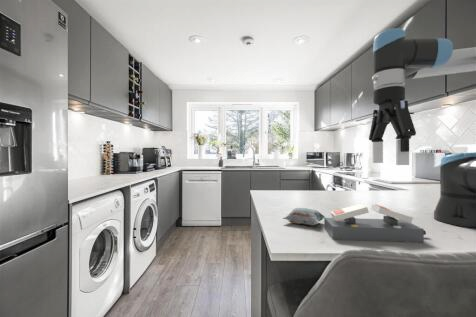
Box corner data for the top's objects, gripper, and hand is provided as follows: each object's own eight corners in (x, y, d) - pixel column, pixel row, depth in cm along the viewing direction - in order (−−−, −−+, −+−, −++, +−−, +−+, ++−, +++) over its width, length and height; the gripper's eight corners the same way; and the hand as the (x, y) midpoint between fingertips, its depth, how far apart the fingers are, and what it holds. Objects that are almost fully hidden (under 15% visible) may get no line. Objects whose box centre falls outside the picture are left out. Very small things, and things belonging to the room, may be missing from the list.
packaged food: (318, 230, 72) (318, 214, 72) (282, 224, 79) (282, 209, 79) (325, 223, 80) (325, 209, 80) (291, 218, 86) (291, 205, 86)
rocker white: (402, 218, 69) (404, 213, 68) (411, 223, 64) (413, 217, 64) (370, 209, 69) (372, 203, 69) (377, 212, 65) (379, 206, 65)
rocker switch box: (414, 231, 70) (414, 214, 70) (436, 242, 61) (436, 223, 61) (324, 228, 73) (324, 212, 73) (332, 239, 64) (332, 220, 64)
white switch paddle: (362, 208, 70) (360, 203, 70) (368, 212, 65) (366, 206, 65) (332, 216, 71) (330, 211, 71) (336, 221, 66) (334, 215, 66)
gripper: (357, 99, 79) (358, 162, 80) (399, 74, 54) (399, 166, 55) (381, 98, 78) (381, 162, 79) (434, 72, 54) (434, 165, 54)
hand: (388, 163), depth 67 cm, fingers open, 13 cm apart
